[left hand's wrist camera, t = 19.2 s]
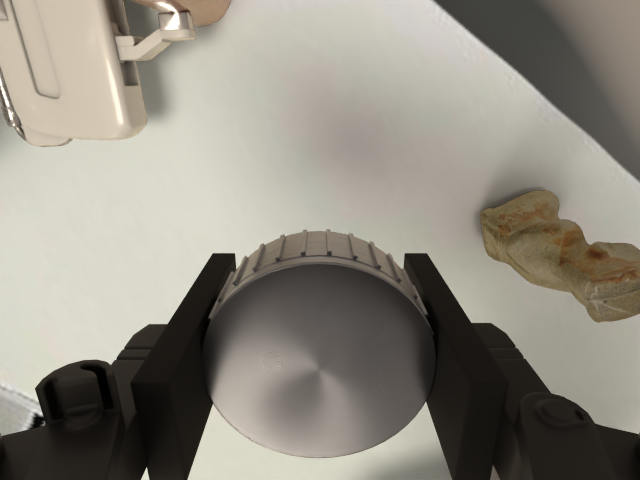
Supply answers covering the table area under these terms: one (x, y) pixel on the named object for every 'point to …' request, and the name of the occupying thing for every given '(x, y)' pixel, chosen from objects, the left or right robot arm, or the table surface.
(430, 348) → the lid
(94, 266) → the table surface
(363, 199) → the table surface
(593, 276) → the sculpture
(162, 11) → the jar
